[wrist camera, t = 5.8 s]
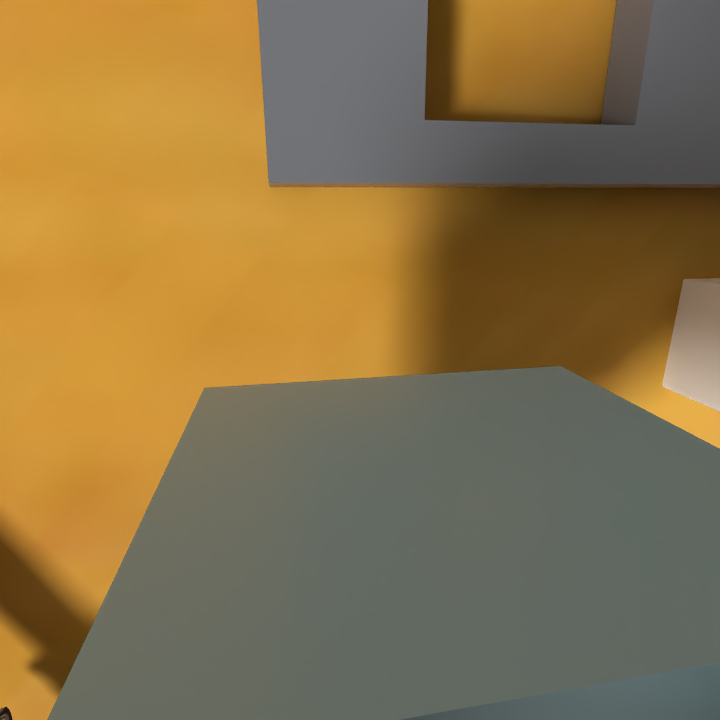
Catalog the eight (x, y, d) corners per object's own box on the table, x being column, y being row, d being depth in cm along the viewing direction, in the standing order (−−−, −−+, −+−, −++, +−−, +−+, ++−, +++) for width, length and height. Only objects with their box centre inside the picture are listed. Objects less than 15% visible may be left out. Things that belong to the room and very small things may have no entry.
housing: (560, 365, 9) (1024, 608, 3) (526, 633, 11) (783, 1065, 5) (204, 387, 8) (13, 788, 2) (238, 678, 10) (180, 1269, 4)
